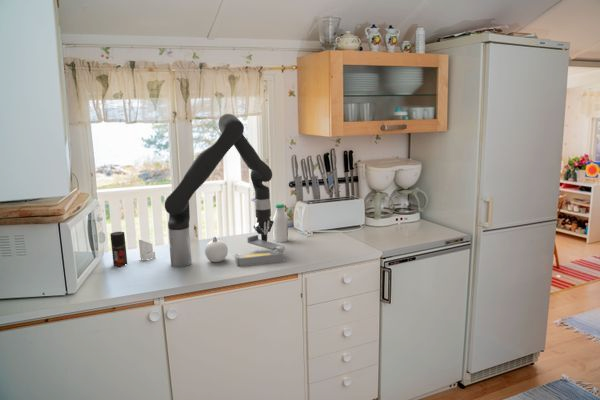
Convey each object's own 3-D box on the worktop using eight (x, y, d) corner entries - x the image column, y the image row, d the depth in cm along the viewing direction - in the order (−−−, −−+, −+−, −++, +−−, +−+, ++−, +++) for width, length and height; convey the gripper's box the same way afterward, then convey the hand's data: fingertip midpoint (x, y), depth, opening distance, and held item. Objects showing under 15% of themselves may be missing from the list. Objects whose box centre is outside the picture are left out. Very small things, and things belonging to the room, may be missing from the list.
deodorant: (128, 262, 212) (125, 231, 209) (126, 266, 207) (122, 234, 204) (115, 263, 211) (111, 232, 208) (112, 267, 206) (108, 235, 203)
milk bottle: (286, 243, 237) (285, 206, 233) (271, 242, 239) (270, 205, 235) (289, 239, 245) (288, 202, 241) (275, 238, 246) (274, 202, 242)
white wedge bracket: (131, 256, 212) (138, 239, 214) (149, 262, 220) (156, 245, 221) (135, 258, 210) (142, 240, 212) (153, 263, 217) (160, 246, 219)
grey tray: (237, 267, 203) (237, 257, 202) (232, 256, 218) (232, 247, 217) (285, 261, 209) (285, 252, 208) (277, 251, 224) (277, 242, 223)
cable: (245, 264, 205) (245, 258, 205) (244, 261, 209) (244, 255, 208) (271, 261, 209) (271, 255, 208) (269, 259, 212) (269, 252, 211)
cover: (279, 251, 208) (279, 246, 208) (247, 242, 223) (247, 237, 222) (288, 248, 212) (288, 243, 212) (256, 240, 227) (256, 234, 226)
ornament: (210, 266, 204) (209, 241, 202) (202, 260, 213) (201, 235, 210) (231, 262, 210) (230, 237, 207) (222, 256, 218) (221, 232, 216)
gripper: (259, 211, 214) (261, 246, 218) (277, 205, 225) (278, 239, 228) (248, 209, 219) (249, 243, 222) (266, 204, 229) (267, 236, 233)
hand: (264, 241), depth 225 cm, fingers closed
